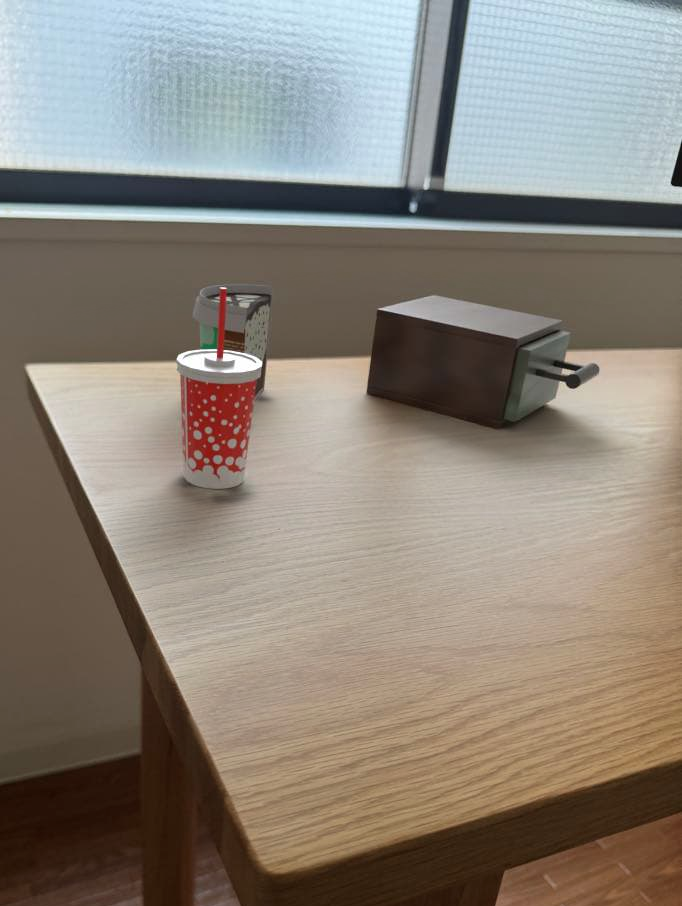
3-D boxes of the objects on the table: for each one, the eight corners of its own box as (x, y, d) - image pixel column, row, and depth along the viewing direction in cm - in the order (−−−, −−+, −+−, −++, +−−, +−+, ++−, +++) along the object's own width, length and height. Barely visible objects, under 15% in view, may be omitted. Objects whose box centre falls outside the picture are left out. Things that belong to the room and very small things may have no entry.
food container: (209, 377, 88) (214, 278, 84) (267, 385, 87) (274, 285, 83) (172, 411, 77) (175, 300, 73) (238, 421, 76) (245, 308, 72)
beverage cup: (269, 485, 64) (284, 295, 58) (196, 498, 61) (204, 298, 54) (229, 457, 68) (239, 278, 62) (159, 468, 65) (163, 280, 59)
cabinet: (544, 402, 90) (563, 320, 86) (498, 429, 80) (517, 338, 77) (421, 371, 97) (433, 295, 93) (365, 393, 88) (377, 308, 84)
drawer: (596, 408, 86) (614, 341, 83) (559, 433, 78) (577, 360, 75) (438, 369, 95) (448, 307, 92) (389, 388, 87) (399, 321, 84)
